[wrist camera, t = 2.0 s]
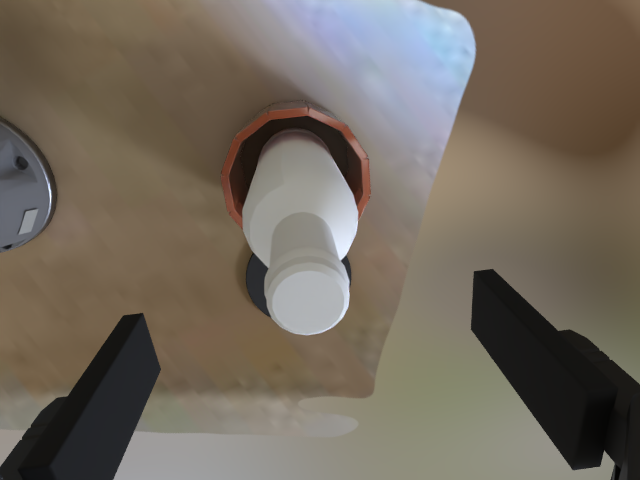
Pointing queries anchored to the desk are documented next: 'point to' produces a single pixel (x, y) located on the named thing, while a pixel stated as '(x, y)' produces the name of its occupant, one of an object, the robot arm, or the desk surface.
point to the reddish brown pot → (233, 166)
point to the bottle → (301, 231)
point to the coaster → (257, 277)
